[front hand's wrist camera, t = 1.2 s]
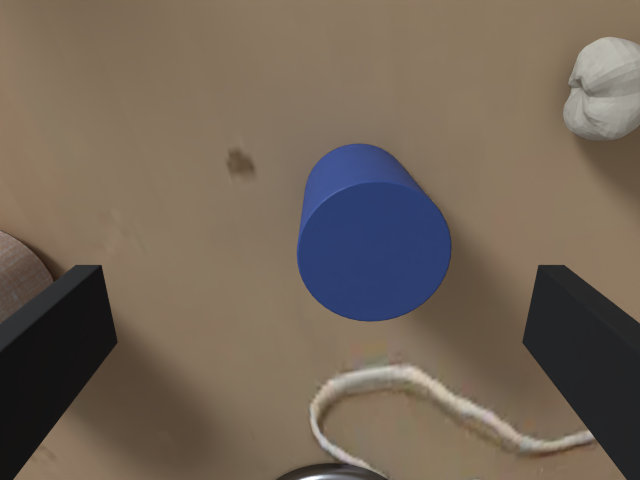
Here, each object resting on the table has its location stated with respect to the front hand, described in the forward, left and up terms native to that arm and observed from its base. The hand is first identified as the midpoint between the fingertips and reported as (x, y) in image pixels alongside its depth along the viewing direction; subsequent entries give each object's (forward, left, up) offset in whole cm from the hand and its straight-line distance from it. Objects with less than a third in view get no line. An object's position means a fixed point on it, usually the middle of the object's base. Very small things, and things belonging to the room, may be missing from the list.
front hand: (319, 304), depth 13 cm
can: (-2, -3, -18) cm, 18 cm away
